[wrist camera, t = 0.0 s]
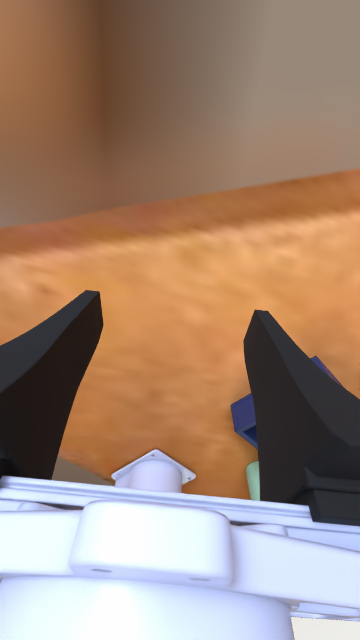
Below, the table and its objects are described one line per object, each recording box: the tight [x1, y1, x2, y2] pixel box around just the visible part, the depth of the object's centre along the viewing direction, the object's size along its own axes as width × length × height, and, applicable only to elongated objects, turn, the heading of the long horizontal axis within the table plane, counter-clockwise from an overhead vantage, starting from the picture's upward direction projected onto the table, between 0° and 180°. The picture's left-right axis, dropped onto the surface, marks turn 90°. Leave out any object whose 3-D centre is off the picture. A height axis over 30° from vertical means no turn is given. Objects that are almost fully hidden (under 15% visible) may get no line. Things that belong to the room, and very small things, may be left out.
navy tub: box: [231, 356, 344, 449], centre depth 29 cm, size 11×11×4 cm
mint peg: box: [246, 461, 260, 501], centre depth 34 cm, size 4×4×6 cm
